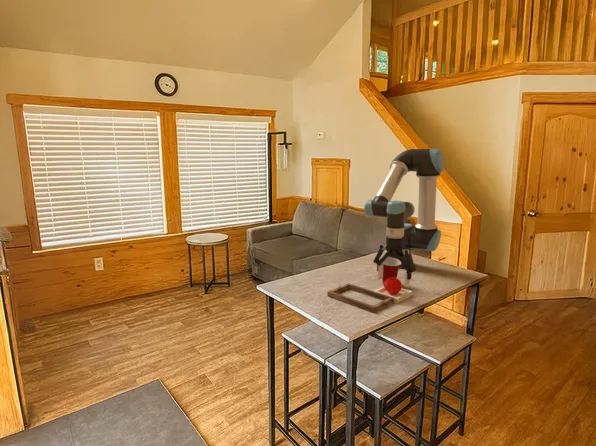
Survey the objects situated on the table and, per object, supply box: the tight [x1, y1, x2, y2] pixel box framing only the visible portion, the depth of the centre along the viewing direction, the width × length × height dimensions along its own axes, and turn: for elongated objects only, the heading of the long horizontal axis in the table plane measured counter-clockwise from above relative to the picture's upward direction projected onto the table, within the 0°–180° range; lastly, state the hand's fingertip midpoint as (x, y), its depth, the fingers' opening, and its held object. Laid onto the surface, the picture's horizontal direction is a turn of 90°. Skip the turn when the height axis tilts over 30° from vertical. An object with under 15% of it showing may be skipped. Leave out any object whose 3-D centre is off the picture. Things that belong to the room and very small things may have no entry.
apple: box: [383, 277, 403, 294], centre depth 169 cm, size 8×8×7 cm
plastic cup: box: [379, 257, 401, 285], centre depth 182 cm, size 11×11×12 cm
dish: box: [373, 285, 413, 304], centre depth 169 cm, size 12×12×2 cm
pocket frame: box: [327, 282, 395, 313], centre depth 165 cm, size 15×25×2 cm, turn 44°
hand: (393, 282), depth 168 cm, fingers open, 13 cm apart
